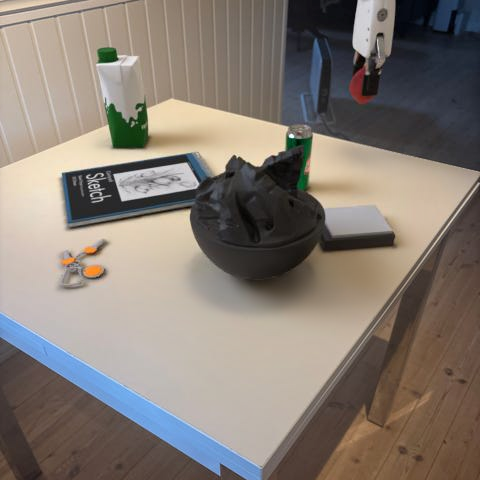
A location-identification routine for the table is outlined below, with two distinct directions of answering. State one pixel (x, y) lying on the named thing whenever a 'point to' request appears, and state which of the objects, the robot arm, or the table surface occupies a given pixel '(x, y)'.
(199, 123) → the table surface
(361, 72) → the onion
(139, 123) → the milk carton
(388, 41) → the robot arm
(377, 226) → the scale
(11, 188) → the table surface
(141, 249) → the table surface
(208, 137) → the table surface
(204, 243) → the coal bowl
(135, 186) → the sketchbook
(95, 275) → the key chain
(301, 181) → the soda can
